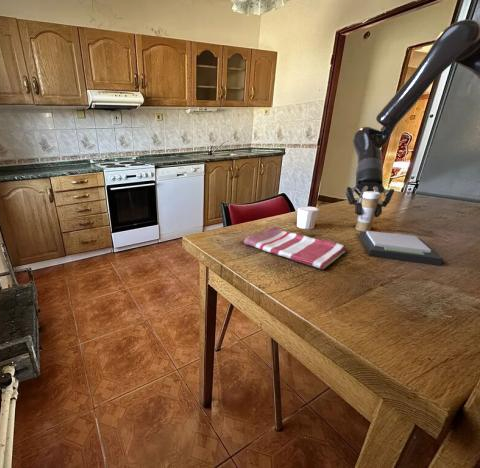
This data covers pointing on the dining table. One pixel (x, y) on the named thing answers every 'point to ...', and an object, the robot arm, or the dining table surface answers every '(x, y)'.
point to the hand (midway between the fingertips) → (368, 215)
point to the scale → (399, 247)
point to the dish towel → (297, 247)
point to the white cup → (307, 217)
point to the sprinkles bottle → (367, 211)
